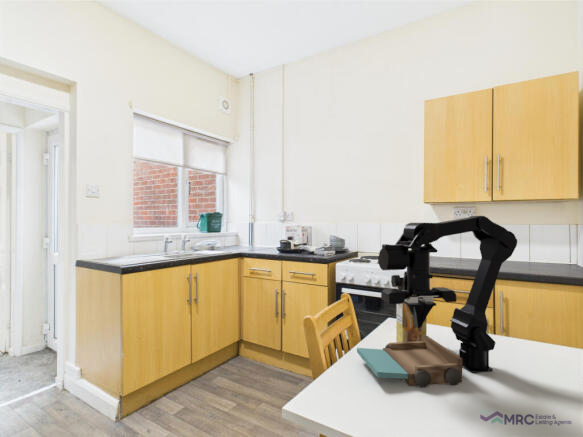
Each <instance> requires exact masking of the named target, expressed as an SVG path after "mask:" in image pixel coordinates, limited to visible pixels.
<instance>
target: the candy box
mask: <svg viewBox="0 0 583 437" xmlns="http://www.w3.org/2000/svg"><path fill="white" fill-rule="evenodd" d="M427 317H428V316H427ZM427 317H426V319H425V321H424V323H423V325H422V327H421V328H417V327H416V325H415V322H414V320H413V317H412V314H411V311H410V309H409V307H408V306H407V304H405V303H402V304H396V327H395V328H396V333H395V334H396V342H414V341H423V336H427V322H428V321H427Z"/></svg>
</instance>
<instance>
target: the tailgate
mask: <svg viewBox="0 0 583 437" xmlns="http://www.w3.org/2000/svg"><path fill="white" fill-rule="evenodd" d="M356 353H357V354H358V356H359V357H360V358H361V359H362V360H363V361H364V362H365V364H366V365H367V367H368V368H369V369H370V370H371V372H373V374H374V375H375V377H377V378H387V379H388V378H389V379H402V378H403V379H408V373H407V372H406V371H405V370H404V369H403V368H402V367H401V366H400V365H399V364H398V363H397V362H396V361H395V360H394V359H393V358H392V357H391V356H390V355H388V354H387V353H386V352H385V351H384V350H383V348H379V349H378V348H366V347H365V348H364V347H357V349H356ZM403 379H402V380H403Z"/></svg>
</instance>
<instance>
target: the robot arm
mask: <svg viewBox="0 0 583 437" xmlns="http://www.w3.org/2000/svg"><path fill="white" fill-rule="evenodd" d="M404 226H405V227H404V228H403V231H402V233H401V235H400V237H399V238H398V240H397V241H396V242H395V244H385V243H384V244H382V245H381V250H380V251H379V252H378V256H377V261H378V265H379V268H380V269H381V270H382V271H401V270H403V271H404V270H406V271H404V273H403V277H401V276H400V274H393V275H391V281H390V282H391V287H392V288H383V290H382V291H381V293H380V298H381V300H382V301H385V302H386V303H387V304H390V305H397V304H402V303H405V304H407V306H408V307H409V309H410V311H411V314H412V317H413V320H414V322H415V325H416V327H417V328H421V327H422V325H423V323H424V321H425V319H426V317H428V315H429V313H430V312H431V311H432V309H433V307H434V306H435V307H436V306H437V303H436V302H434V299H442V300H443V301H444V302H445V303H456V302H457V294H456V292H455V291H454V290H453V289H450V288H448V287H445V286H444V287H443V286H442V287H439V286H438V287H437V286H436V287H432V288H431V285H430V284H431V283H430V282H431V279H433V274H432V273H431V270H430V268H431V267H430V266H431V263H430V261H431V260H430V258H431V257H430V253H437V252H438V249H436V247H434V246H433V245H432V243H434V242H436V241H438V240H439V239H441V238H443V237H447V236H448V237H449V236H452V235H457V234H458V235H459V234H465V233H469V232H472V234H473V236H474V237H475V239H477V240H478V241H479V242H480V243H479V251H480V255H481V259H480V262H479V265H478V268H477V271H476V274H475V277H474V279H473V282H472V285H471V289H470V291H469V294H468V297H467V300H466V302H465V304H464V305H463V306H462V307H461V308H458V307H455V308H454V310H453V315H452V316H451V318H450V319H449V321H450V322H451V323H450V328H451V330H452V332H453V334H454V335H455V339H456V340H457V341H460V348H459V349H458V351H459V352H458V353H459V354H458V356H459V357H460V358H462V368H465V369H466V370H468V371H469V372H471V373H484V372H486V373H487V372H493V371H494V369H493V368H492V367H491V366H490V362H489V361H490V360H489V359H490V354H489V352H490V351H493V350H494V349H495V346H496V341H495V340H494V339H493V338H492V337H491V336H490V335H489V334H488V333H487V330H488V326H489V324H488V320H487V316H486V315H487V314H486V311H487V308H488V305H489V302H490V299H491V296H492V293H493V290H494V288H495V285H496V282H497V279H498V276H499V273H500V270H501V267H502V265H503V263H504V262H506V261H507V260H508V259H510V257H512V255H513V253H514V252H515V250H516V247H517V245H518V239H517V238H516V235H515V234H514V233H513V232H512V231H510V230H508V229H507V228H505V227H503V226H502V225H499V224H498V223H496V222H494V221H493V220H491V219H490V218H489V217H487V216H484V215H471V216H469V217H463V218H457V219H451V220H447V221H446V220H445V221H440V222H409V223H407V224H405V225H404Z"/></svg>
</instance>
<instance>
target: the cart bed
mask: <svg viewBox="0 0 583 437" xmlns="http://www.w3.org/2000/svg"><path fill="white" fill-rule="evenodd" d="M382 350H384V351H385V352H386V353H387V354H388V355H390V356H391V357H392V358H393V359H394V360H395V361H396V362H397V363H398V364H399V365H400V366H401V367H402V368H403V369H404V370H405V371H406V372H407V373H408V379H403V378H401V379H402V380H403V382H405V383H406V384H407V385H408V386H409V387H419V388H421V389H423V388H427V387H428V386H433V385H450V386H458V384H461V383H463V366H462V358H460V357H459V355H457V354H456V353H454V352H453V351H451V350H450V349H449V348H447V347H445V346H444V345H442V344H441V343H439V342H437V341H436V340H434V339H433V338H431V337H429V336H428V335H426V336H423V341H414V342H389V343H387V344H386V346H385V347H384V348H382Z"/></svg>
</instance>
